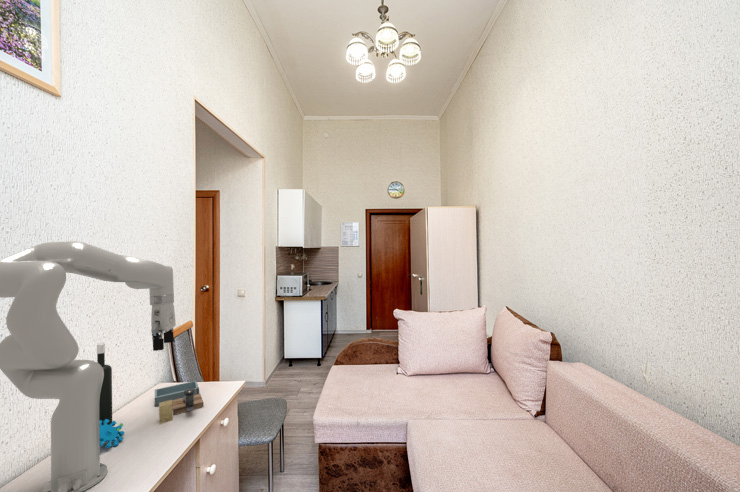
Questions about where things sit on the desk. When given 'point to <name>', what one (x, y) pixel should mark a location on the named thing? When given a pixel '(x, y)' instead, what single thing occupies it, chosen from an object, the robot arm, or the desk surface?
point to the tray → (174, 392)
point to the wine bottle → (105, 387)
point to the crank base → (181, 406)
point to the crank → (189, 398)
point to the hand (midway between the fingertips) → (163, 346)
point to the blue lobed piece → (110, 433)
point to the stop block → (165, 411)
